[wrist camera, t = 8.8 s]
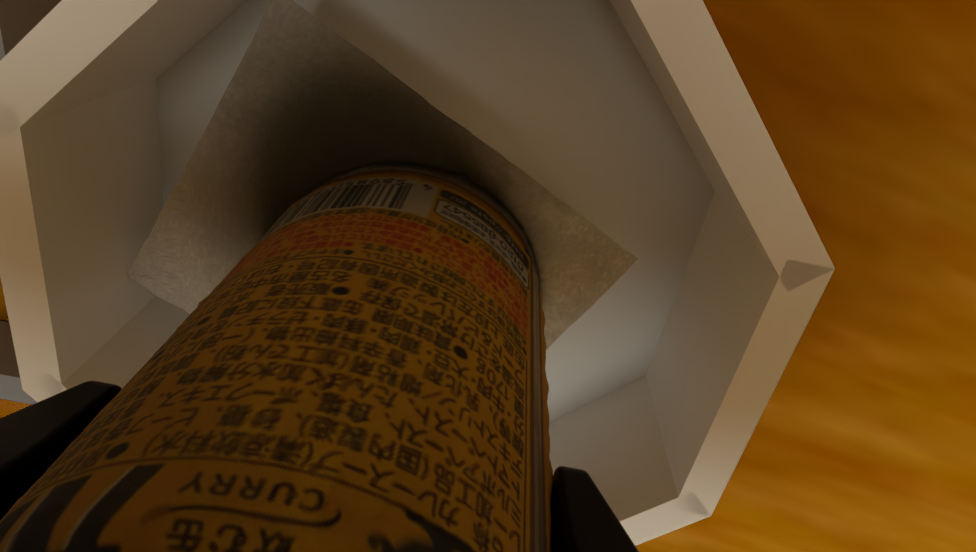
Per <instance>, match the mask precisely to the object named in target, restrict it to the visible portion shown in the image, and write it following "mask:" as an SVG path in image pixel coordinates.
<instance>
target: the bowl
mask: <svg viewBox="0 0 976 552" xmlns="http://www.w3.org/2000/svg"><path fill="white" fill-rule="evenodd" d="M293 1H294V2H296V3H297V4H298V5H300V6H301V7H302V8H304V9H305V10H306V11H308V12H309V13H310V14H312V15H313V16H314V17H315V18H317V19H318V20H319V21H320V22H322V23H323V24H324V25H325V26H327V27H328V28H330V29H331V30H332V31H334V32H335V33H337V34H338V35H339V36H341V37H342V38H344V39H345V40H347V41H348V42H350V43H351V44H353V45H354V46H356V47H357V48H358V49H360V50H361V51H363V52H364V53H365V54H367V55H368V56H370V57H371V58H373V59H374V60H375V61H377V62H378V63H379V64H380V65H381V66H383V67H384V68H385V69H387V70H388V71H389V72H390V73H392V74H393V75H394V76H396V77H397V78H398V79H399V80H401V81H402V82H403V83H405V84H406V85H407V86H409V87H410V88H412V89H413V90H414V91H416V92H417V93H418V94H419V95H421V96H422V97H423V98H424V99H425V100H427V101H428V102H429V103H430V104H431V105H432V106H434V107H435V108H437V109H438V110H439V111H441V112H442V113H443V114H445V115H446V116H448V117H449V118H451V119H452V120H454V121H455V122H457V123H458V124H460V125H461V126H463V127H464V128H466V129H467V130H469V131H470V132H471V133H472V134H473V135H474V136H476V137H477V138H479V139H480V140H481V141H483V142H484V143H486V144H487V145H488V146H490V147H491V148H493V149H494V150H496V151H497V152H498V153H500V154H501V155H502V156H503V157H504V158H505V159H507V160H508V161H509V162H511V163H512V164H514V165H516V166H517V167H519V168H520V169H521V170H523V171H524V172H525V173H526V174H528V175H529V176H530V177H532V178H533V179H534V180H536V181H537V182H538V183H540V184H541V185H542V186H543V187H545V188H546V189H547V190H548V191H549V192H550V193H552V194H553V195H554V196H555V197H556V198H558V199H560V200H562V201H563V202H564V203H566V204H567V205H569V206H570V207H571V208H572V209H574V210H575V211H576V212H578V213H579V214H580V215H581V216H583V217H584V218H585V219H587V220H588V221H589V222H590V223H592V224H593V225H594V226H596V227H597V228H598V229H600V230H601V231H602V232H603V233H605V234H606V235H607V236H609V237H610V238H611V239H613V240H614V241H615V242H616V243H618V244H619V245H620V246H622V247H623V248H624V249H626V250H627V251H628V252H630V253H631V254H632V255H634V256H635V257H636V258H638V259H637V260H636V261H635V263H634V264H633V265H632V266H631V267H630V268H629V269H628V270H627V271H626V272H625V273H624V274H623V275H622V276H621V277H620V278H619V279H618V280H617V281H616V282H615V283H614V284H613V285H612V286H611V287H610V288H609V289H608V290H607V291H606V292H605V293H604V294H603V295H602V296H601V297H600V298H599V299H598V300H597V301H596V302H595V304H594V305H593V306H592V307H591V308H590V309H588V310H587V311H586V312H585V313H584V314H583V315H582V316H581V317H580V318H579V319H578V320H577V321H576V322H574V323H573V324H572V325H571V326H569V328H568V329H567V330H566V331H565V332H564V333H563V334H562V335H561V336H560V337H559V338H558V339H556V341H555V342H554V343H553V344H552V345H551V346H550V347H549V348H548V349H547V350H546V364H545V371H546V378H547V381H548V385H549V392H548V400H547V405H548V411H549V431H548V432H549V436H550V454H549V458H550V462H551V466H552V470H553V474H554V472H555V470H556V468H557V467H559V466H567V467H572V468H577V469H582V470H585V471H586V472H587V473H588V474H589V475H590V477H591V478H592V480H593V481H594V483H595V484H596V486H597V488H598V489H599V491H600V492H601V494H602V495H603V497H604V498H605V500H606V501H607V503H608V505H609V506H610V508H611V509H612V511H613V512H614V514H615V515H616V517H617V518H618V520H619V522H620V523H621V525H622V526H623V528H624V529H625V531H626V532H627V534H628V535H629V537H630V539H631V540H632V542H633V543H634V545H635V546H636V545H638V544H641V543H643V542H646V541H648V540H651V539H654V538H656V537H659V536H661V535H664V534H666V533H669V532H671V531H674V530H677V529H679V528H682V527H684V526H687V525H689V524H692V523H694V522H697V521H700V520H702V519H705V518H707V517H710V516H711V515H712V513H713V511H714V509H715V507H716V505H717V503H718V501H719V499H720V497H721V495H722V493H723V491H724V489H725V487H726V485H727V483H728V481H729V479H730V477H731V475H732V473H733V471H734V469H735V467H736V465H737V463H738V461H739V459H740V457H741V455H742V453H743V451H744V449H745V447H746V445H747V443H748V441H749V439H750V437H751V435H752V433H753V431H754V429H755V427H756V425H757V423H758V421H759V419H760V417H761V415H762V413H763V411H764V409H765V407H766V405H767V403H768V401H769V399H770V397H771V395H772V393H773V391H774V389H775V387H776V385H777V384H778V382H779V380H780V378H781V376H782V374H783V372H784V370H785V368H786V366H787V364H788V362H789V360H790V358H791V356H792V354H793V352H794V350H795V348H796V346H797V344H798V342H799V340H800V338H801V336H802V334H803V332H804V330H805V328H806V326H807V324H808V322H809V320H810V318H811V316H812V314H813V312H814V310H815V308H816V306H817V304H818V302H819V300H820V298H821V296H822V294H823V292H824V290H825V288H826V286H827V284H828V282H829V280H830V278H831V276H832V274H833V272H834V270H835V267H834V265H833V263H832V261H831V259H830V257H829V255H828V253H827V251H826V249H825V247H824V245H823V243H822V241H821V239H820V237H819V235H818V233H817V231H816V229H815V227H814V225H813V223H812V221H811V219H810V217H809V215H808V213H807V211H806V209H805V207H804V205H803V203H802V201H801V199H800V197H799V194H798V192H797V190H796V188H795V186H794V184H793V182H792V180H791V178H790V176H789V174H788V172H787V170H786V168H785V166H784V164H783V162H782V160H781V158H780V156H779V154H778V152H777V150H776V148H775V146H774V144H773V142H772V140H771V138H770V136H769V134H768V132H767V130H766V128H765V126H764V124H763V122H762V119H761V117H760V115H759V113H758V111H757V109H756V107H755V105H754V103H753V101H752V99H751V97H750V95H749V93H748V91H747V89H746V87H745V85H744V83H743V81H742V79H741V77H740V75H739V73H738V71H737V69H736V67H735V65H734V63H733V61H732V59H731V57H730V55H729V53H728V51H727V49H726V47H725V44H724V42H723V40H722V38H721V36H720V34H719V32H718V30H717V28H716V26H715V24H714V22H713V20H712V18H711V16H710V14H709V12H708V10H707V8H706V6H705V4H704V2H703V0H293ZM270 2H271V0H61V1H60V2H59V3H58V4H57V5H56V6H55V7H54V8H53V9H52V10H51V11H50V12H49V13H48V14H47V15H46V16H45V17H44V18H43V19H42V20H41V21H40V22H39V23H38V24H37V25H36V26H35V27H34V28H33V29H32V30H31V31H30V32H29V33H28V34H27V35H26V36H25V37H24V38H23V39H22V40H21V41H20V42H19V43H18V44H17V45H16V46H15V47H14V48H13V49H12V50H11V51H10V52H9V53H8V54H7V55H6V56H5V57H4V58H3V59H2V60H1V61H0V278H1V283H2V288H3V293H4V298H5V303H6V308H7V313H8V319H9V324H10V329H11V334H12V339H13V344H14V349H15V354H16V359H17V364H18V369H19V374H20V379H21V384H22V389H23V391H24V392H26V393H27V394H28V395H29V396H30V397H32V398H33V399H34V400H35V401H36V402H40V401H42V400H44V399H47V398H49V397H51V396H53V395H56V394H58V393H60V392H63V391H65V390H67V389H70V388H72V387H74V386H76V385H79V384H81V383H84V382H87V381H99V382H105V383H110V384H116V385H118V386H120V387H121V388H123V387H124V386H125V385H126V384H127V383H128V382H129V381H130V380H131V379H132V378H133V376H134V375H135V374H136V373H137V372H138V371H139V370H140V369H141V368H142V367H143V366H144V365H145V364H146V363H147V362H148V361H149V359H150V358H151V357H152V356H153V355H154V353H155V352H156V351H157V350H158V349H159V348H160V347H161V346H162V345H163V344H164V343H165V342H166V341H167V340H168V339H169V338H170V337H171V335H172V334H173V333H174V332H175V331H176V329H177V328H178V327H179V326H180V325H181V324H182V323H183V322H184V321H185V319H186V318H187V317H188V316H189V315H190V314H189V313H188V312H186V311H185V310H183V309H181V308H179V307H177V306H175V305H173V304H171V303H169V302H167V301H165V300H163V299H161V298H160V297H158V296H156V295H155V294H153V293H152V292H151V291H150V290H148V289H147V288H145V287H144V286H142V285H140V284H138V283H137V282H135V281H133V280H131V279H130V278H128V274H127V273H128V271H129V269H130V268H131V266H132V264H133V262H134V260H135V258H136V256H137V254H138V253H139V251H140V249H141V247H142V245H143V243H144V242H145V240H146V239H147V237H148V236H149V234H150V232H151V230H152V228H153V226H154V224H155V222H156V220H157V218H158V216H159V214H160V212H161V210H162V208H163V206H164V205H165V203H166V201H167V200H168V198H169V196H170V194H171V192H172V190H173V188H174V187H175V185H176V183H177V182H178V180H179V178H180V177H181V175H182V174H183V172H184V171H185V170H186V168H187V167H186V166H187V163H188V161H189V159H190V157H191V155H192V153H193V151H194V150H195V148H196V146H197V144H198V142H199V140H200V139H201V137H202V135H203V133H204V131H205V129H206V128H207V126H208V124H209V123H210V120H211V118H212V116H213V114H214V113H215V111H216V108H217V106H218V104H219V102H220V100H221V98H222V97H223V95H224V93H225V91H226V89H227V87H228V85H229V83H230V81H231V80H232V78H233V76H234V74H235V72H236V70H237V68H238V66H239V64H240V62H241V60H242V58H243V56H244V54H245V52H246V50H247V49H248V47H249V45H250V43H251V42H252V40H253V38H254V35H255V33H256V31H257V29H258V26H259V24H260V21H261V19H262V17H263V15H264V14H265V12H266V10H267V8H268V6H269V4H270Z"/></svg>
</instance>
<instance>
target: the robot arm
mask: <svg viewBox="0 0 976 552" xmlns="http://www.w3.org/2000/svg"><path fill="white" fill-rule="evenodd" d="M121 389H122V388H121V387H120V386H118V385H116V384H110V383H105V382H99V381H87V382H84V383H81V384H79V385H76V386H74V387H72V388H70V389H67V390H65V391H63V392H60V393H58V394H56V395H53V396H51V397H49V398H47V399H44V400H42V401H40V402H37V403H35V404H33V405H30V406H28V407H26V408H23V409H21V410H19V411H17V412H14V413H12V414H10V415H7V416H5V417H3V418H0V520H1V519H2V518H3V517H4V516H5V515H6V514H7V512H8V511H9V510H10V509H11V508H12V506H13V505H14V504H15V503H16V502H17V500H18V499H19V498H21V497H22V496H23V495H24V494H25V493H26V492H27V491H28V490H29V488H30V487H31V486H32V485H33V484H34V483H35V482H36V481H37V480H38V479H39V478H40V477H41V476H42V475H43V474H44V473H45V472H46V471H47V469H48V468H49V467H50V466H51V465H52V464H53V463H54V462H55V461H56V460H57V458H58V457H59V456H60V455H61V454H62V453H63V452H64V451H65V450H66V448H67V447H68V446H69V445H70V444H71V443H72V442H73V441H74V440H75V439H76V438H77V437H78V436H79V435H80V434H81V433H82V432H83V431H84V430H85V428H86V427H87V426H88V425H89V424H90V423H91V422H92V420H93V419H94V418H95V417H96V416H97V415H98V413H99V412H100V411H101V410H102V409H103V408H104V407H105V406H106V405H107V404H108V403H109V402H110V401H111V400H112V399H113V398H114V397H115V396H116V395H117V394H118V393H119V392H120V391H121ZM551 507H552V540H551V546H552V552H639V551H638V549H637V548H636V546H635V545H634V543H633V542H632V540H631V539H630V537H629V535H628V534H627V532H626V531H625V529H624V528H623V526H622V525H621V523H620V522H619V520H618V518H617V517H616V515H615V514H614V512H613V511H612V509H611V508H610V506H609V505H608V503H607V501H606V500H605V498H604V497H603V495H602V494H601V492H600V491H599V489H598V488H597V486H596V484H595V483H594V481H593V480H592V478H591V477H590V475H589V474H588V473H587V472H586V471H585V470H582V469H577V468H572V467H567V466H559V467H557V468H556V470H555V472H554V474H553V486H552V502H551Z"/></svg>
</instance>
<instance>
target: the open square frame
mask: <svg viewBox="0 0 976 552" xmlns="http://www.w3.org/2000/svg"><path fill="white" fill-rule="evenodd" d="M60 1H61V0H0V61H1V60H2V59H3V58H4V57H5V56H6V55H7V54H8V53H9V52H10V51H11V50H12V49H13V48H14V47H15V46H16V45H17V44H18V43H19V42H20V41H21V40H22V39H23V38H24V37H25V36H26V35H27V34H28V33H29V32H30V31H31V30H32V29H33V28H34V27H35V26H36V25H37V24H38V23H39V22H40V21H41V20H42V19H43V18H44V17H45V16H46V15H47V14H48V13H49V12H50V11H51V10H52V9H53V8H54V7H55V6H56V5H57V4H58V3H59V2H60ZM0 399H6V400H11V401H17V402H22V403H28V404H35V403H37V402H36V401H35V400H34V399H33V398H32V397H30V396H29V395H28V394H27V393H26V392H24V391H23V389H22V384H21V379H20V374H19V369H18V364H17V359H16V354H15V349H14V344H13V339H12V334H11V329H10V324H9V322H5V321H0Z"/></svg>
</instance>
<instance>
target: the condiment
mask: <svg viewBox="0 0 976 552" xmlns="http://www.w3.org/2000/svg"><path fill="white" fill-rule="evenodd" d="M186 167H187V168H186V170H185V171H184V172H183V174H182V175H181V177H180V178H179V180H178V182H177V183H176V185H175V187H174V188H173V190H172V192H171V194H170V196H169V198H168V200H167V201H166V203H165V205H164V206H163V208H162V210H161V212H160V214H159V216H158V218H157V220H156V222H155V224H154V226H153V228H152V230H151V232H150V234H149V236H148V237H147V239H146V240H145V242H144V243H143V245H142V247H141V249H140V251H139V253H138V254H137V256H136V258H135V260H134V262H133V264H132V266H131V268H130V269H129V271H128V273H127V274H128V278H130V279H131V280H133V281H135V282H137V283H138V284H140V285H142V286H144V287H145V288H147V289H148V290H150V291H151V292H152V293H153V294H155V295H156V296H158V297H160V298H161V299H163V300H165V301H167V302H169V303H171V304H173V305H175V306H177V307H179V308H181V309H183V310H185V311H186V312H188V313H189V314H190V315H189V316H188V317H187V318H186V319H185V321H184V322H183V323H182V324H181V325H180V326H179V327H178V328H177V329H176V331H175V332H174V333H173V334H172V335H171V337H170V338H169V339H168V340H167V341H166V342H165V343H164V344H163V345H162V346H161V347H160V348H159V349H158V350H157V351H156V352H155V353H154V355H153V356H152V357H151V358H150V359H149V361H148V362H147V363H146V364H145V365H144V366H143V367H142V368H141V369H140V370H139V371H138V372H137V373H136V374H135V375H134V376H133V378H132V379H131V380H130V381H129V382H128V383H127V384H126V385H125V386H124V387H123V388H122V389H121V391H120V392H119V393H118V394H117V395H116V396H115V397H114V398H113V399H112V400H111V401H110V402H109V403H108V404H107V405H106V406H105V407H104V408H103V409H102V410H101V411H100V412H99V413H98V415H97V416H96V417H95V418H94V419H93V420H92V422H91V423H90V424H89V425H88V426H87V427H86V428H85V430H84V431H83V432H82V433H81V434H80V435H79V436H78V437H77V438H76V439H75V440H74V441H73V442H72V443H71V444H70V445H69V446H68V447H67V448H66V450H65V451H64V452H63V453H62V454H61V455H60V456H59V457H58V458H57V460H56V461H55V462H54V463H53V464H52V465H51V466H50V467H49V468H48V469H47V471H46V472H45V473H44V474H43V475H42V476H41V477H40V478H39V479H38V480H37V481H36V482H35V483H34V484H33V485H32V486H31V487H30V488H29V490H28V491H27V492H26V493H25V494H24V495H23V496H22V497H21V498H19V499H18V500H17V502H16V503H15V504H14V505H13V506H12V508H11V509H10V510H9V511H8V512H7V514H6V515H5V516H4V517H3V518H2V519H1V520H0V552H552V546H551V540H552V507H551V502H552V486H553V470H552V466H551V462H550V458H549V454H550V436H549V432H548V431H549V411H548V405H547V400H548V392H549V385H548V381H547V378H546V371H545V364H546V350H547V349H548V348H549V347H550V346H551V345H552V344H553V343H554V342H555V341H556V339H558V338H559V337H560V336H561V335H562V334H563V333H564V332H565V331H566V330H567V329H568V328H569V326H571V325H572V324H573V323H574V322H576V321H577V320H578V319H579V318H580V317H581V316H582V315H583V314H584V313H585V312H586V311H587V310H588V309H590V308H591V307H592V306H593V305H594V304H595V302H596V301H597V300H598V299H599V298H600V297H601V296H602V295H603V294H604V293H605V292H606V291H607V290H608V289H609V288H610V287H611V286H612V285H613V284H614V283H615V282H616V281H617V280H618V279H619V278H620V277H621V276H622V275H623V274H624V273H625V272H626V271H627V270H628V269H629V268H630V267H631V266H632V265H633V264H634V263H635V261H636V260H637V259H638V258H636V257H635V256H634V255H632V254H631V253H630V252H628V251H627V250H626V249H624V248H623V247H622V246H620V245H619V244H618V243H616V242H615V241H614V240H613V239H611V238H610V237H609V236H607V235H606V234H605V233H603V232H602V231H601V230H600V229H598V228H597V227H596V226H594V225H593V224H592V223H590V222H589V221H588V220H587V219H585V218H584V217H583V216H581V215H580V214H579V213H578V212H576V211H575V210H574V209H572V208H571V207H570V206H569V205H567V204H566V203H564V202H563V201H562V200H560V199H558V198H556V197H555V196H554V195H553V194H552V193H550V192H549V191H548V190H547V189H546V188H545V187H543V186H542V185H541V184H540V183H538V182H537V181H536V180H534V179H533V178H532V177H530V176H529V175H528V174H526V173H525V172H524V171H523V170H521V169H520V168H519V167H517V166H516V165H514V164H512V163H511V162H509V161H508V160H507V159H505V158H504V157H503V156H502V155H501V154H500V153H498V152H497V151H496V150H494V149H493V148H491V147H490V146H488V145H487V144H486V143H484V142H483V141H481V140H480V139H479V138H477V137H476V136H474V135H473V134H472V133H471V132H470V131H469V130H467V129H466V128H464V127H463V126H461V125H460V124H458V123H457V122H455V121H454V120H452V119H451V118H449V117H448V116H446V115H445V114H443V113H442V112H441V111H439V110H438V109H437V108H435V107H434V106H432V105H431V104H430V103H429V102H428V101H427V100H425V99H424V98H423V97H422V96H421V95H419V94H418V93H417V92H416V91H414V90H413V89H412V88H410V87H409V86H407V85H406V84H405V83H403V82H402V81H401V80H399V79H398V78H397V77H396V76H394V75H393V74H392V73H390V72H389V71H388V70H387V69H385V68H384V67H383V66H381V65H380V64H379V63H378V62H377V61H375V60H374V59H373V58H371V57H370V56H368V55H367V54H365V53H364V52H363V51H361V50H360V49H358V48H357V47H356V46H354V45H353V44H351V43H350V42H348V41H347V40H345V39H344V38H342V37H341V36H339V35H338V34H337V33H335V32H334V31H332V30H331V29H330V28H328V27H327V26H325V25H324V24H323V23H322V22H320V21H319V20H318V19H317V18H315V17H314V16H313V15H312V14H310V13H309V12H308V11H306V10H305V9H304V8H302V7H301V6H300V5H298V4H297V3H296V2H294V1H293V0H271V2H270V4H269V6H268V8H267V10H266V12H265V14H264V15H263V17H262V19H261V21H260V24H259V26H258V29H257V31H256V33H255V35H254V38H253V40H252V42H251V43H250V45H249V47H248V49H247V50H246V52H245V54H244V56H243V58H242V60H241V62H240V64H239V66H238V68H237V70H236V72H235V74H234V76H233V78H232V80H231V81H230V83H229V85H228V87H227V89H226V91H225V93H224V95H223V97H222V98H221V100H220V102H219V104H218V106H217V108H216V111H215V113H214V114H213V116H212V118H211V120H210V123H209V124H208V126H207V128H206V129H205V131H204V133H203V135H202V137H201V139H200V140H199V142H198V144H197V146H196V148H195V150H194V151H193V153H192V155H191V157H190V159H189V161H188V163H187V166H186Z"/></svg>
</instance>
